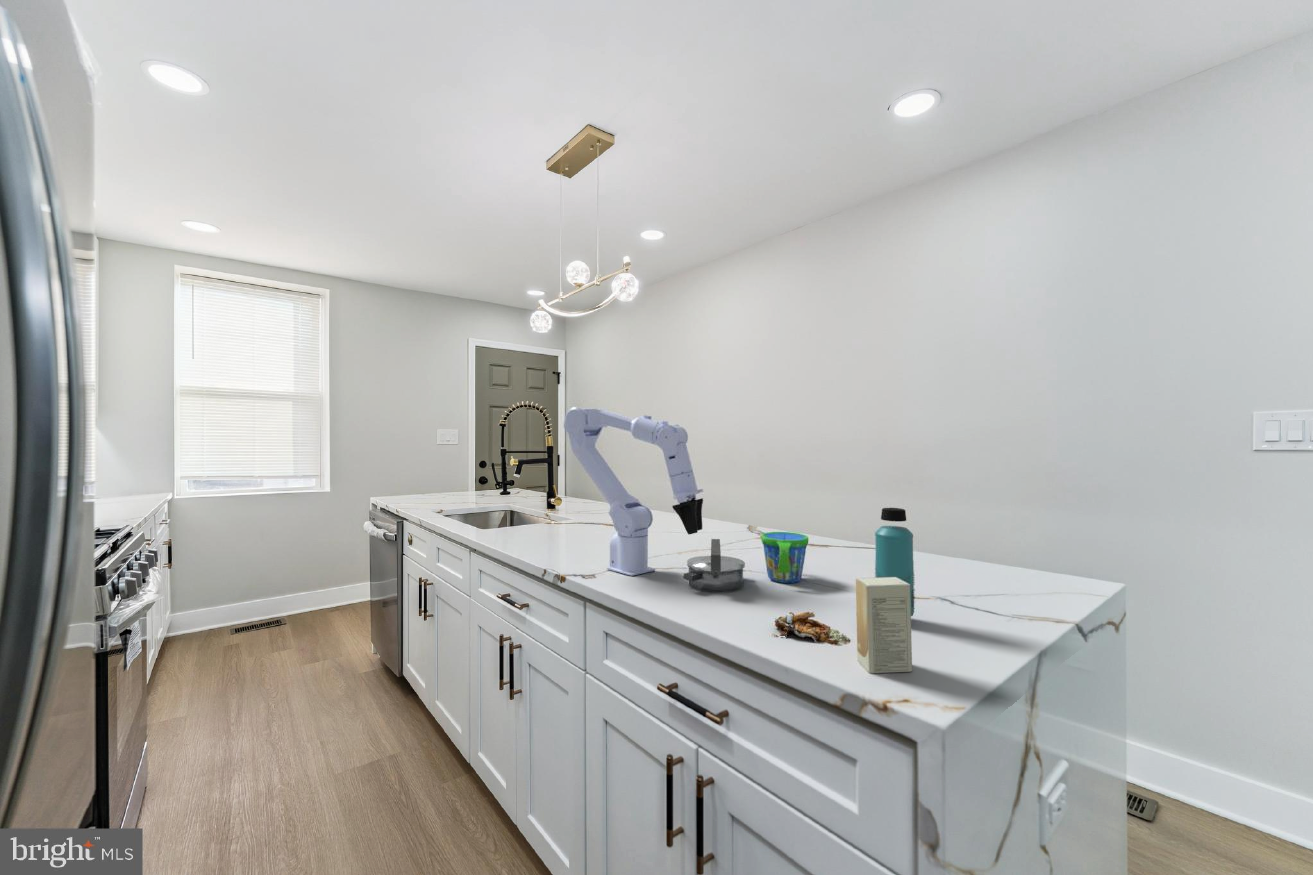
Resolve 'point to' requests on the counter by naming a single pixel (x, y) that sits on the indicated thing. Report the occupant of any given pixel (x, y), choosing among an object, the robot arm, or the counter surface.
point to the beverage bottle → (895, 550)
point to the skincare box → (883, 624)
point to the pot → (715, 580)
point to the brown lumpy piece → (809, 628)
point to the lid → (715, 561)
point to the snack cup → (784, 555)
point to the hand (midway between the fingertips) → (695, 531)
